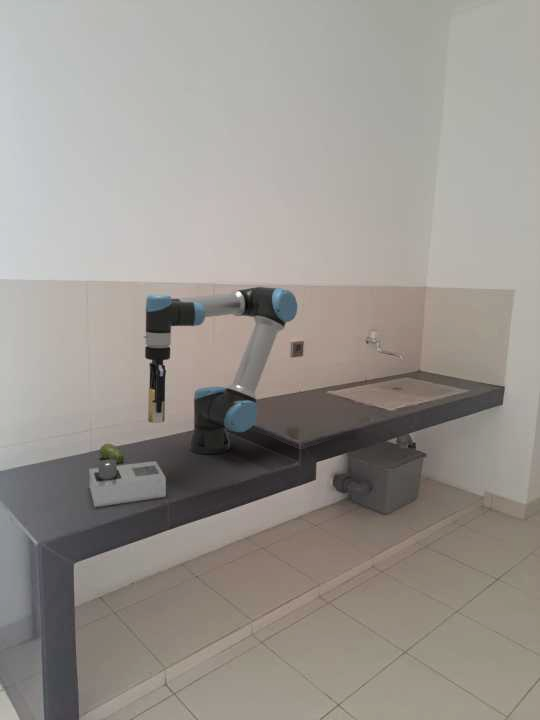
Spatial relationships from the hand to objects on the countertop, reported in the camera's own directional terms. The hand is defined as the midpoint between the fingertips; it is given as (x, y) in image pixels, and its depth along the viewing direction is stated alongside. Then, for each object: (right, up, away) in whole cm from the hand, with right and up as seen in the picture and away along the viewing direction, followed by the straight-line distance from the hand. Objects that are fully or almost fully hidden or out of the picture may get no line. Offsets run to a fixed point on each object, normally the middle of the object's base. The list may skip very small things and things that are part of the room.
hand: (156, 419), depth 164 cm
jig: (-7, -21, -7) cm, 23 cm away
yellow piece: (0, 0, 0) cm, 0 cm away
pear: (-19, -16, +19) cm, 31 cm away
